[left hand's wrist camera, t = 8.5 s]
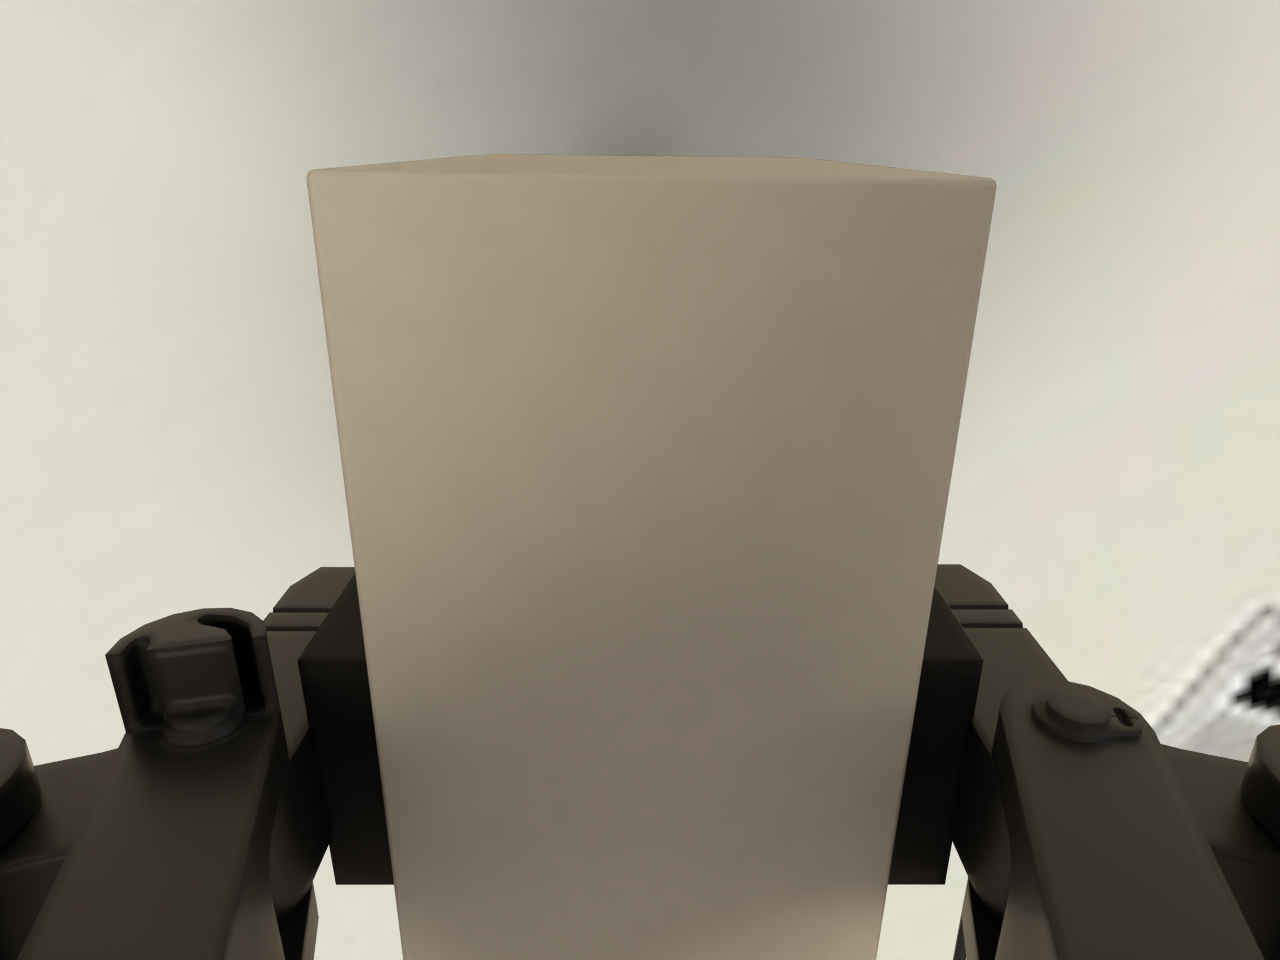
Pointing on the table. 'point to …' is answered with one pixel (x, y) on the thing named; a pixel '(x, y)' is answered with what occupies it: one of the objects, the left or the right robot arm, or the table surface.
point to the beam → (645, 535)
